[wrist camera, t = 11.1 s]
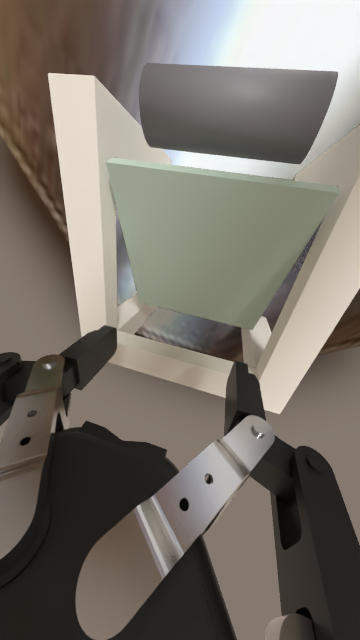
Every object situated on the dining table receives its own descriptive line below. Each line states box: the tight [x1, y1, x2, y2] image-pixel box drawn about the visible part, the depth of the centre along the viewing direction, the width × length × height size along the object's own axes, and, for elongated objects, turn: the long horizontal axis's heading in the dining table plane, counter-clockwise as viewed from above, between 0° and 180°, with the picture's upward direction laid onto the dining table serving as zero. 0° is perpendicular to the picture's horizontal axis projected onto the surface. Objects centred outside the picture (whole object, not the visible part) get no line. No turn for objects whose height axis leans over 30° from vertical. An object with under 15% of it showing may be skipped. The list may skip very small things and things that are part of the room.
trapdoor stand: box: [48, 73, 360, 414], centre depth 21 cm, size 21×21×16 cm
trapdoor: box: [106, 63, 339, 330], centre depth 17 cm, size 18×14×5 cm
